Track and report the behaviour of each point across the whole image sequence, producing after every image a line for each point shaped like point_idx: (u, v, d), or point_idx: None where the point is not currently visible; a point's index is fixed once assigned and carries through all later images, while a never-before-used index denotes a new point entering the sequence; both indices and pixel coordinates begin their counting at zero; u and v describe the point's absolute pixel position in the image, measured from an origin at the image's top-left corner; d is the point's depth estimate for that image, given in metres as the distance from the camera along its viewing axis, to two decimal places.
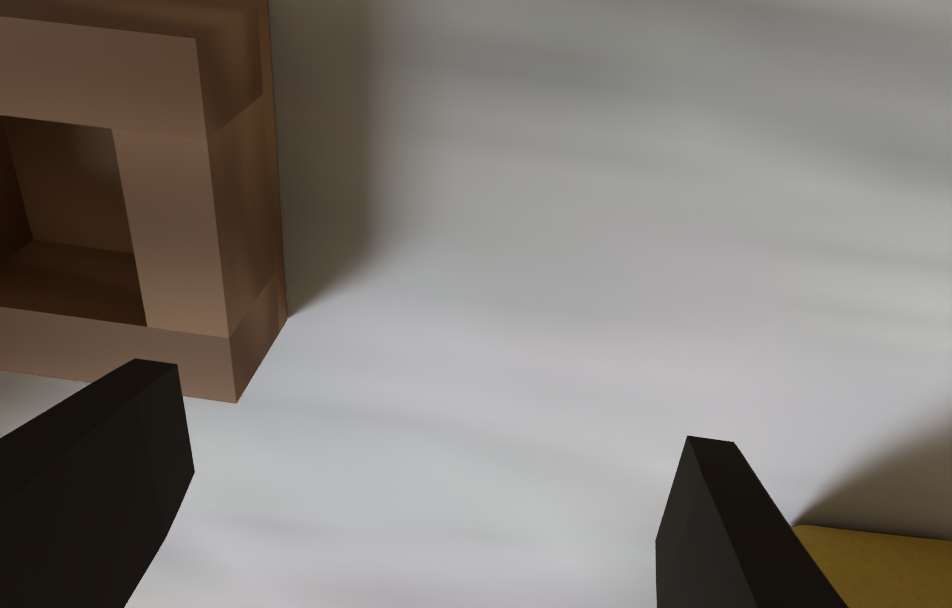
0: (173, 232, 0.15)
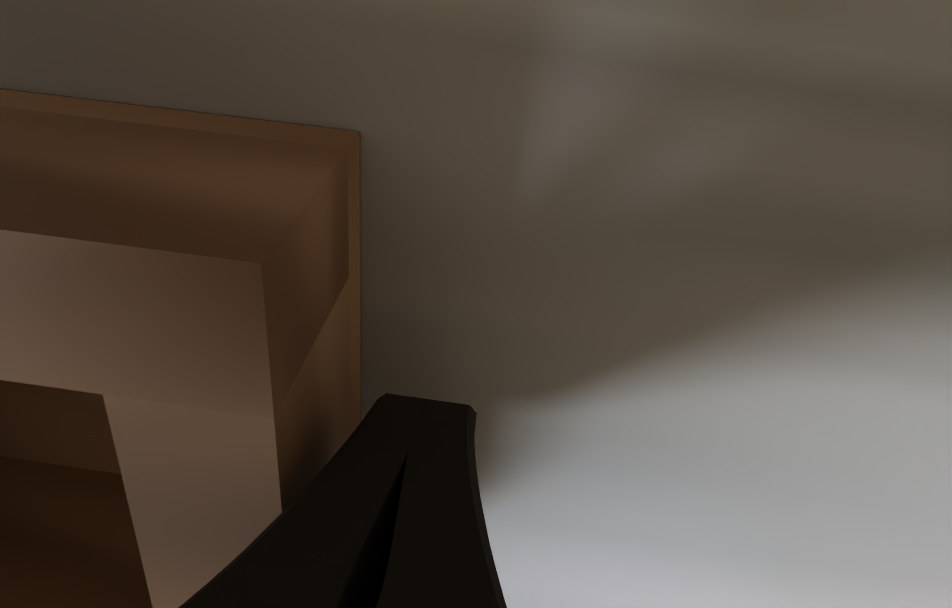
0: (209, 540, 0.09)
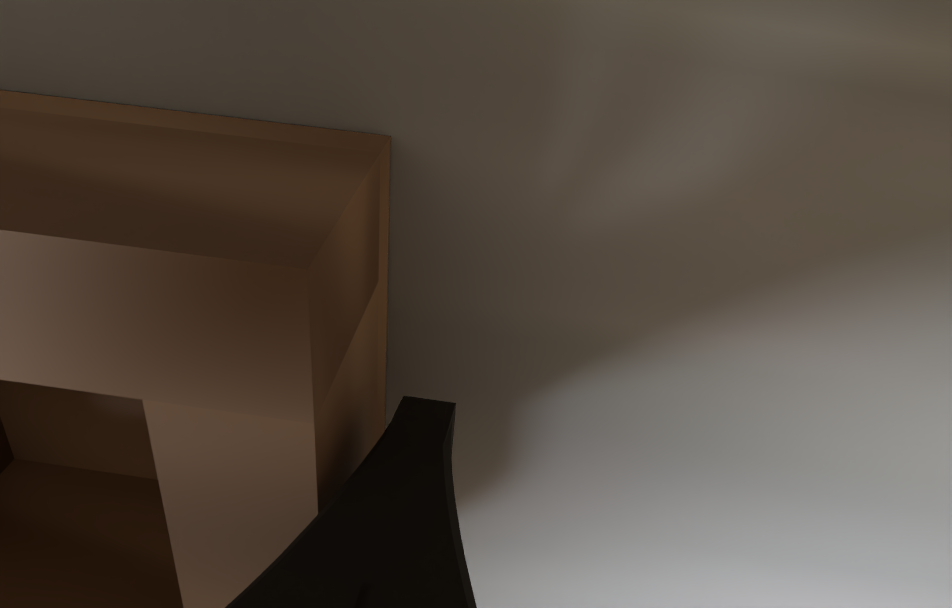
0: (244, 544, 0.09)
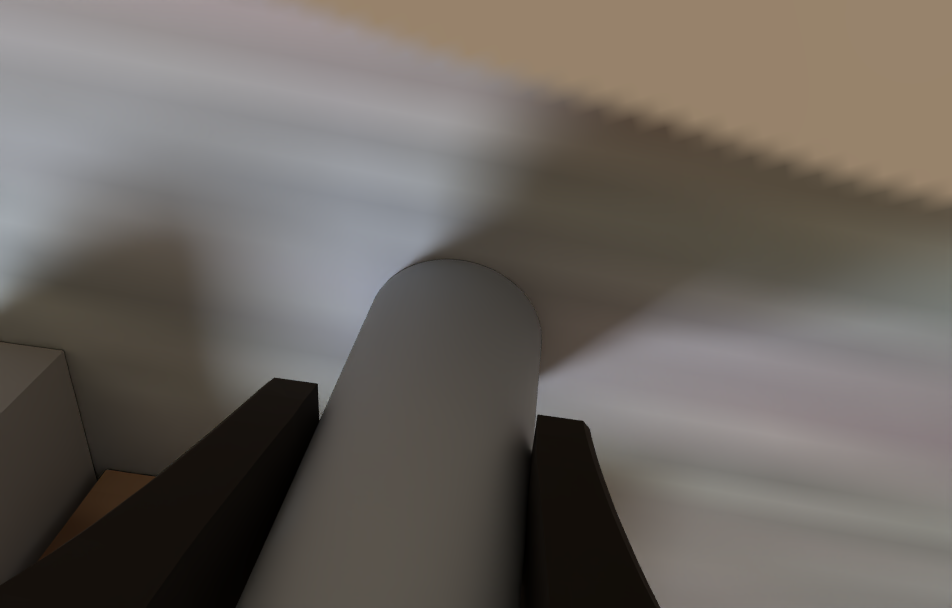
0: None
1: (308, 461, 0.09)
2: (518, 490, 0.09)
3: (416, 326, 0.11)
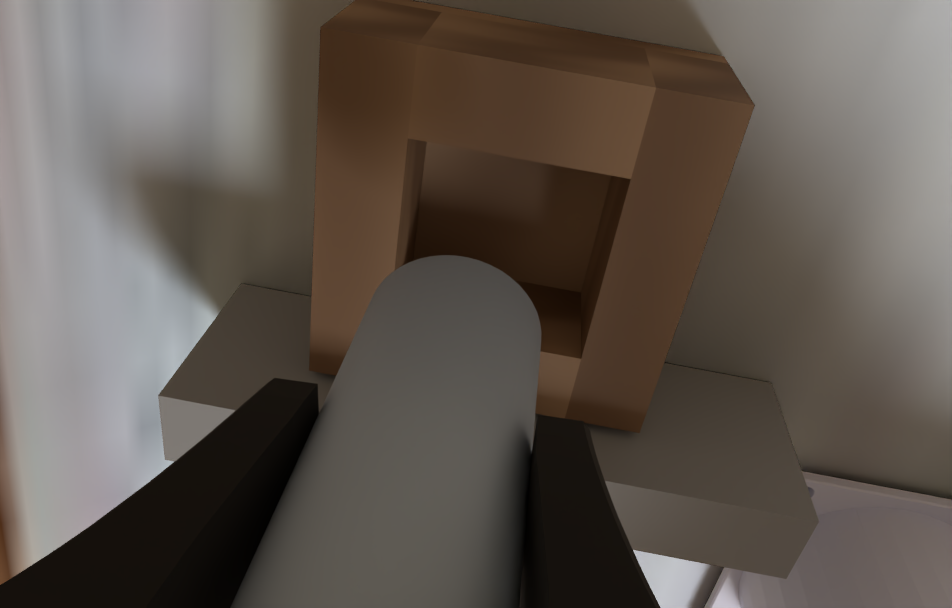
0: (517, 112, 0.14)
1: (303, 459, 0.09)
2: (516, 482, 0.09)
3: (411, 321, 0.11)
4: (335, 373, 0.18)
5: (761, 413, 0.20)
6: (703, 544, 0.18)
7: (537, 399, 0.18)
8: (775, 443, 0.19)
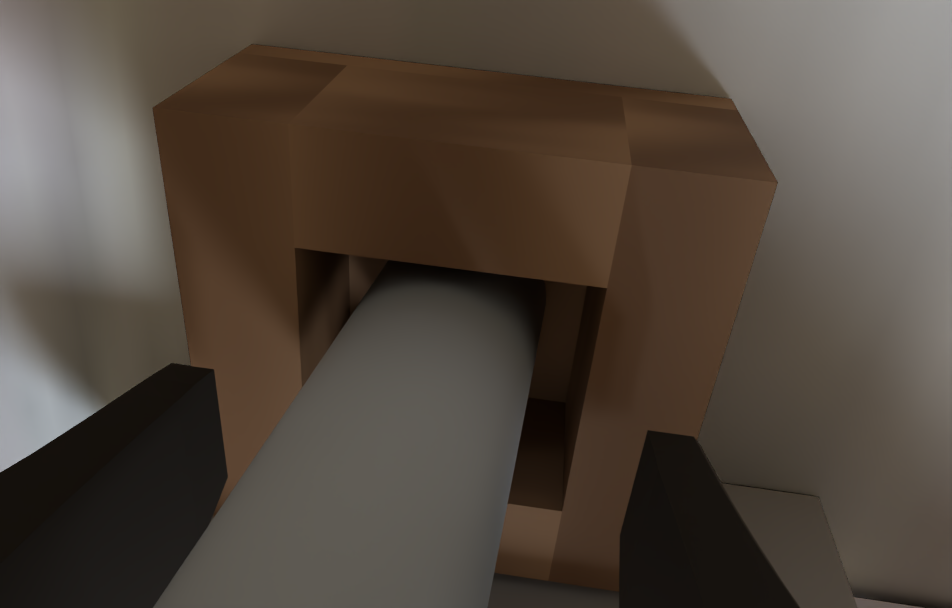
0: (438, 207, 0.10)
1: (320, 362, 0.10)
2: (511, 392, 0.10)
3: None
4: None
5: (808, 546, 0.15)
6: None
7: (510, 558, 0.14)
8: (829, 594, 0.14)
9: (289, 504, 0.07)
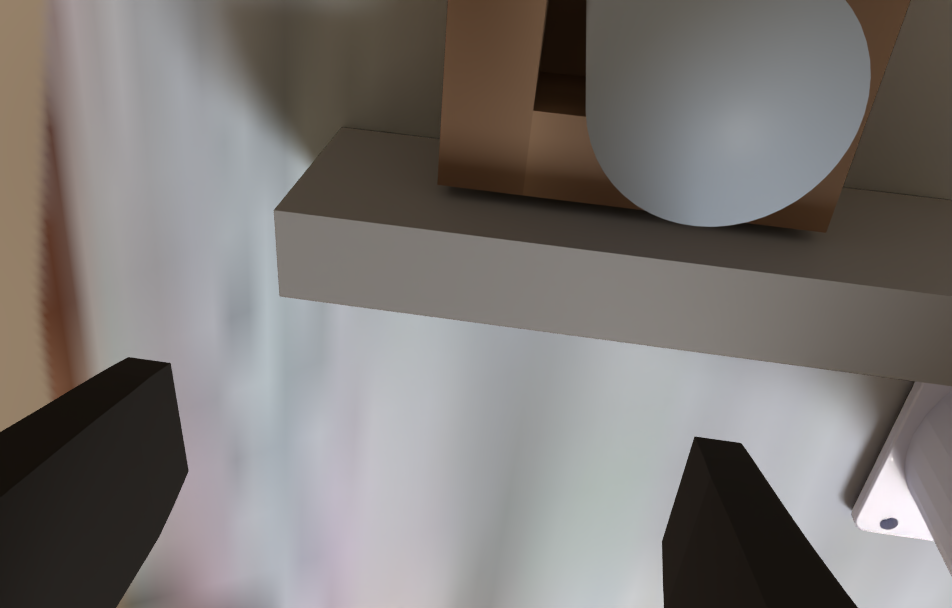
0: None
1: None
2: None
3: None
4: (467, 186, 0.16)
5: None
6: (914, 354, 0.15)
7: None
8: None
9: None
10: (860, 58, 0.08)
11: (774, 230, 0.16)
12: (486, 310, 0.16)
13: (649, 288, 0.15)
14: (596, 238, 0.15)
